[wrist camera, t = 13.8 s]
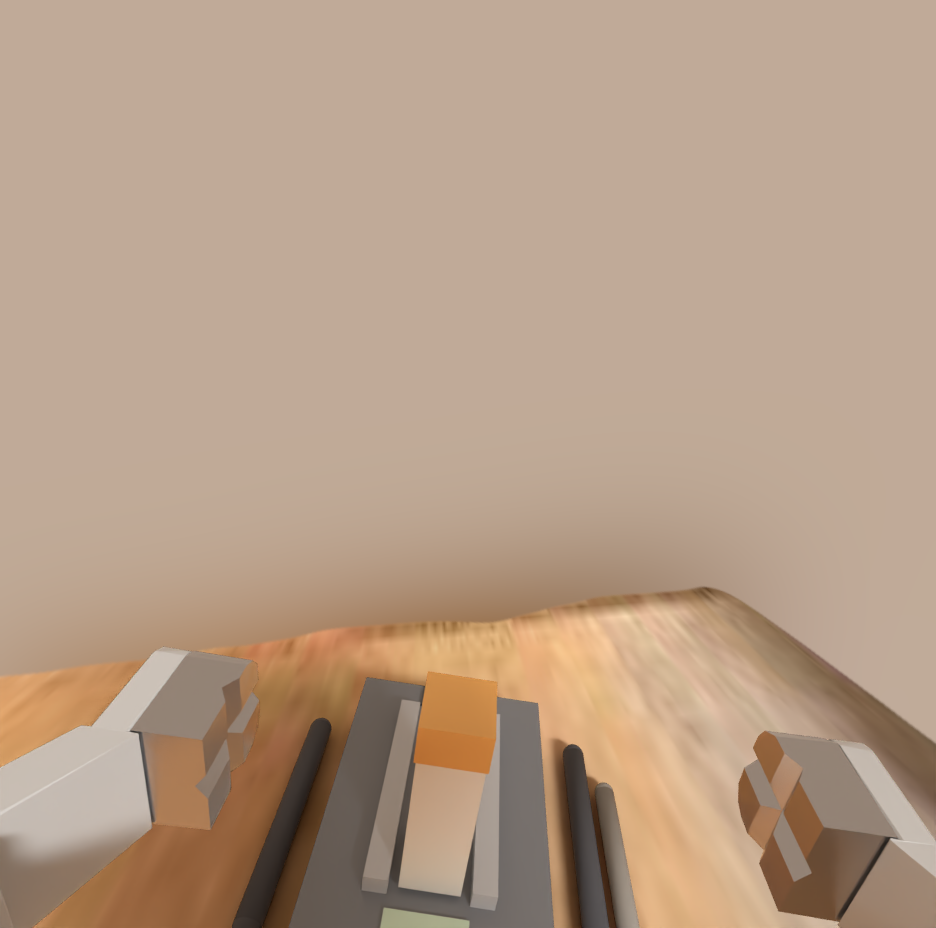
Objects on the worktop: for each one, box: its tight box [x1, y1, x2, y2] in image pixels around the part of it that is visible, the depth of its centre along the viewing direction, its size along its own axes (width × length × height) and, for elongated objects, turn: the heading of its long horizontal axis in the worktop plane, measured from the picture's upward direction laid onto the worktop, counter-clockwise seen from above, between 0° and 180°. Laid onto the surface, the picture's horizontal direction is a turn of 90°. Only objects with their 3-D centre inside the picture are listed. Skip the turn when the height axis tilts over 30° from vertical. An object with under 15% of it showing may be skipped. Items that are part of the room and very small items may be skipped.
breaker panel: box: [289, 677, 554, 928], centre depth 33 cm, size 16×12×5 cm
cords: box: [232, 718, 640, 928], centre depth 33 cm, size 16×21×1 cm
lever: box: [398, 672, 497, 897], centre depth 27 cm, size 3×3×10 cm
